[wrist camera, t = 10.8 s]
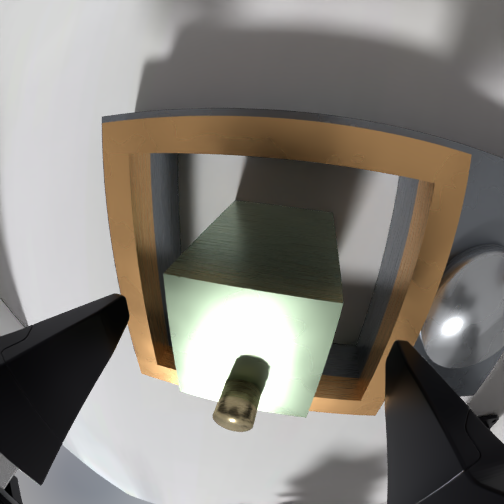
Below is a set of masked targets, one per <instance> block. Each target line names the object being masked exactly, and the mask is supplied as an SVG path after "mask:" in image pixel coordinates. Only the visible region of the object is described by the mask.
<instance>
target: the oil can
mask: <svg viewBox="0 0 504 504" xmlns="http://www.w3.org/2000/svg"><path fill="white" fill-rule="evenodd" d="M163 276H164V286H165V295H166V304H167V312H168V320H169V327H170V334H171V341H172V347H173V354H174V360H175V366H176V372H177V377H178V383H179V388H180V391H181V392H184V393H188V394H191V395H195V396H199V397H202V398H206V399H210V400H214V401H218V403H217V405H216V408H215V411H214V413H213V419H214V421H215V422H216V423H217V424H218V425H220V426H221V427H223V428H225V429H228V430H231V431H237V432H244V431H248V430H250V429H252V427H253V424H254V421H255V417H256V413H257V410H260V411H266V412H271V413H277V414H284V415H290V416H297V417H305V418H306V417H307V414H308V411H309V409H310V406H311V403H312V401H313V398H314V395H315V392H316V390H317V387H318V384H319V381H320V378H321V375H322V372H323V369H324V366H325V363H326V360H327V357H328V354H329V351H330V348H331V345H332V341H333V338H334V335H335V331H336V328H337V325H338V321H339V318H340V314H341V310H342V307H343V294H342V284H341V274H340V265H339V257H338V249H337V241H336V234H335V227H334V220H333V214H332V213H330V212H323V211H316V210H309V209H302V208H295V207H287V206H280V205H272V204H263V203H255V202H246V201H237V200H235V201H234V202H233V203H232V204H231V205H230V206H229V207H228V208H227V209H226V210H225V211H224V212H223V213H222V214H221V215H220V216H219V217H218V218H217V219H216V220H215V221H214V222H213V223H212V224H211V225H210V226H209V227H208V228H207V229H206V230H205V231H204V232H203V233H202V234H201V235H200V236H199V237H198V238H197V239H196V240H195V241H194V242H193V243H192V244H191V245H190V246H189V247H188V248H187V249H186V250H185V251H184V252H183V253H182V254H181V255H180V256H179V257H178V259H177V260H176V261H175V262H174V263H173V264H172V265H171V266H170V267H169V268H168V269H167V270H166V271H165V272H164V273H163Z"/></svg>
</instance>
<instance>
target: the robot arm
mask: <svg viewBox="0 0 504 504" xmlns="http://www.w3.org/2000/svg"><path fill="white" fill-rule="evenodd" d="M129 317H130V314H129V309H128V305H127V300H126V298H125V296H123V295H120V294H112V295H109V296H106V297H104V298H101V299H98V300H96V301H93V302H90V303H88V304H85V305H83V306H80V307H77V308H75V309H72V310H70V311H67V312H64V313H62V314H59V315H57V316H54V317H51V318H49V319H46V320H44V321H41V322H39V323H36V324H34V325H31V326H28V327H26V328H23V329H20V330H17V331H15V332H12V333H9V334H6V335H3V336H0V504H23V503H22V499H21V496H20V490H19V485H18V479H17V478H16V477H15V476H14V474H15V473H16V471H17V470H18V469H20V470H21V471H22V472H23V473H24V474H26V475H27V476H28V477H29V478H31V479H32V480H33V481H35V482H36V483H37V484H39V485H40V486H41V485H42V484H43V482H44V480H45V478H46V476H47V474H48V471H49V469H50V467H51V465H52V463H53V461H54V459H55V457H56V455H57V453H58V451H59V449H60V447H61V445H62V442H63V441H64V439H65V437H66V435H67V433H68V432H69V430H70V428H71V426H72V424H73V422H74V420H75V419H76V417H77V415H78V413H79V411H80V409H81V408H82V406H83V404H84V402H85V401H86V399H87V397H88V395H89V393H90V392H91V390H92V388H93V387H94V385H95V383H96V381H97V380H98V378H99V376H100V375H101V373H102V371H103V369H104V368H105V366H106V364H107V363H108V361H109V359H110V358H111V356H112V354H113V352H114V350H115V348H116V346H117V344H118V342H119V340H120V338H121V336H122V334H123V332H124V330H125V328H126V325H127V323H128V321H129ZM385 417H386V433H387V459H388V494H387V504H504V444H503V443H502V442H501V441H500V440H499V439H498V438H497V437H496V436H495V435H494V434H493V433H492V432H491V431H490V428H491V427H492V426H493V425H494V424H495V423H496V422H497V421H498V419H499V418H498V415H491V416H485V417H477V416H476V415H475V414H474V412H473V411H472V410H471V409H469V407H468V406H467V405H466V403H465V402H464V401H463V400H462V399H461V398H460V397H459V396H458V394H457V393H456V392H455V391H454V390H453V389H452V388H451V387H450V386H449V384H448V383H447V382H446V381H445V380H444V379H443V378H442V377H441V376H440V375H439V374H438V372H437V371H436V370H435V369H434V368H433V367H432V366H431V365H430V364H429V363H428V362H427V361H426V360H425V359H424V357H423V356H422V355H421V354H420V353H419V352H418V351H417V350H416V349H415V348H414V347H413V346H412V345H411V344H410V343H409V342H408V341H406V340H396V341H395V342H394V343H393V345H392V347H391V350H390V352H389V354H388V356H387V359H386V363H385Z"/></svg>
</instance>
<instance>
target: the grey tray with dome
mask: <svg viewBox="0 0 504 504" xmlns="http://www.w3.org/2000/svg"><path fill="white" fill-rule="evenodd" d="M102 149H103V169H104V183H105V194H106V204H107V213H108V221H109V229H110V236H111V243H112V250H113V256H114V262H115V267H116V273H117V278H118V283H119V288H120V293H121V295H123V296H125V298H126V300H127V305H128V309H129V314H130V317H129V321H128V323H127V324H128V328H129V332H130V335H131V339H132V343H133V347H134V350H135V354H136V356H137V360H138V363H139V366H140V370H141V373H142V374H145V375H148V376H151V377H154V378H157V379H161V380H164V381H167V382H170V383H174V384H177V385H179V383H178V377H177V372H176V366H175V360H174V354H173V347H172V341H171V334H170V327H169V320H168V312H167V304H166V295H165V286H164V276H163V273H164V272H165V271H166V270H167V269H168V268H169V267H170V266H171V265H172V264H173V263H174V262H175V261H176V260H177V259H178V257H179V256H180V255H181V246H180V226H179V200H178V153H195V154H223V155H241V156H256V157H268V158H280V159H290V160H299V161H308V162H316V163H324V164H332V165H339V166H346V167H352V168H359V169H365V170H371V171H377V172H382V173H388V174H393V175H398V176H399V182H398V188H397V194H396V200H395V205H394V210H393V215H392V220H391V225H390V230H389V234H388V239H387V243H386V247H385V251H384V256H383V260H382V264H381V267H380V271H379V275H378V279H377V282H376V286H375V289H374V293H373V296H372V300H371V303H370V306H369V309H368V313H367V316H366V319H365V322H364V325H363V328H362V331H361V334H360V337H359V340H358V343H357V346H353V345H343V344H334V343H332V345H331V348H330V351H329V354H328V357H327V360H326V363H325V366H324V369H323V372H322V375H321V378H320V381H319V384H318V387H317V390H316V392H315V395H314V398H313V401H312V403H311V406H310V409H309V411H316V412H326V413H337V414H352V415H374V416H375V415H376V414H377V412H378V410H379V409H380V407H381V406H382V404H383V402H384V401H385V363H386V359H387V356H388V354H389V352H390V350H391V347H392V345H393V343H394V342H395V341H396V340H406V341H408V342H409V343H410V344H411V345H412V346H413V347H414V348H415V349H416V350H417V351H418V352H419V353H420V354H421V355H422V356H423V357H424V359H425V360H426V361H427V362H428V363H429V364H430V365H431V366H432V367H433V368H434V369H435V370H436V371H437V372H438V374H439V375H440V376H441V377H442V378H443V379H444V380H445V381H446V382H447V383H448V384H449V386H450V387H451V388H452V389H453V390H454V391H455V392H456V393H457V394H458V396H471V395H474V394H475V393H476V392H477V390H478V389H479V387H480V386H481V385H482V383H483V382H484V380H485V379H486V378H487V376H488V375H489V373H490V372H491V370H492V369H493V367H494V366H495V364H496V362H497V361H498V359H499V358H500V356H501V354H502V353H503V351H504V159H503V158H501V157H498V156H495V155H493V154H490V153H487V152H485V151H482V150H479V149H476V148H473V147H470V146H467V145H464V144H461V143H457V142H454V141H451V140H447V139H444V138H440V137H437V136H433V135H429V134H426V133H422V132H418V131H414V130H409V129H405V128H401V127H396V126H391V125H386V124H381V123H376V122H371V121H365V120H359V119H353V118H347V117H340V116H332V115H325V114H316V113H307V112H296V111H284V110H269V109H245V108H197V109H173V110H158V111H146V112H136V113H127V114H118V115H111V116H104V117H102Z"/></svg>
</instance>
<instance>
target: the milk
mask: <svg viewBox="0 0 504 504" xmlns="http://www.w3.org/2000/svg"><path fill="white" fill-rule="evenodd" d="M23 328H25V327H24V326H23V325H22V324H21V323H20V322H19V320H18V319H17V318H16V317H15V316H14V315H13V313H12V312H11V311H10V310H9V308H8V307H7V306H6V305H5V303H4V302H3V301H2V300H1V299H0V336H3V335H6V334H9V333H12V332H15V331H17V330H20V329H23Z"/></svg>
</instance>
